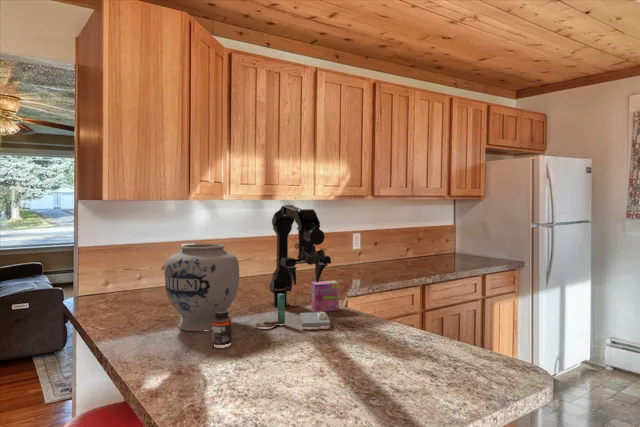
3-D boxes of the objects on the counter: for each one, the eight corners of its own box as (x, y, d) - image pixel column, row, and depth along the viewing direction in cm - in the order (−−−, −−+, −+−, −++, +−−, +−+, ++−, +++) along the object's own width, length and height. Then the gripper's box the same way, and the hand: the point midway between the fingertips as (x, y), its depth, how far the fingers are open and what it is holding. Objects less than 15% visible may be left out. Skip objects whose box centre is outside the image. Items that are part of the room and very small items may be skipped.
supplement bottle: (224, 341, 142) (223, 307, 142) (235, 345, 139) (235, 310, 138) (208, 346, 138) (208, 311, 137) (220, 350, 134) (220, 314, 133)
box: (314, 312, 178) (314, 284, 177) (311, 309, 183) (311, 281, 183) (338, 310, 180) (338, 282, 180) (334, 307, 186) (334, 280, 185)
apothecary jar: (166, 319, 169) (164, 242, 168) (234, 312, 178) (233, 240, 177) (165, 340, 144) (163, 250, 143) (245, 331, 153) (244, 247, 152)
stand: (300, 319, 168) (300, 307, 168) (325, 318, 169) (325, 306, 169) (302, 330, 154) (302, 316, 154) (330, 329, 155) (330, 315, 155)
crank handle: (256, 324, 161) (256, 293, 161) (284, 323, 162) (284, 293, 162) (255, 330, 154) (255, 298, 154) (285, 329, 155) (284, 297, 155)
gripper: (290, 245, 152) (291, 289, 153) (337, 243, 160) (337, 285, 161) (279, 242, 162) (280, 284, 163) (324, 240, 170) (324, 279, 171)
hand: (306, 283), depth 164 cm, fingers open, 9 cm apart
